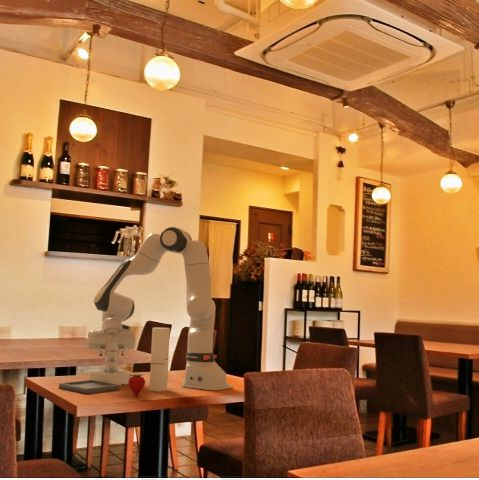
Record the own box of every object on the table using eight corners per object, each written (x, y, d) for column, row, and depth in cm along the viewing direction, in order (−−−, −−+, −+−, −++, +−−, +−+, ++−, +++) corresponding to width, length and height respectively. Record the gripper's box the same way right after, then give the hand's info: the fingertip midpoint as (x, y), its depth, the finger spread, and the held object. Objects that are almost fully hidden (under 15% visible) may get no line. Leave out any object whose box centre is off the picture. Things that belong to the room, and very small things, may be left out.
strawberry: (133, 398, 205) (134, 371, 206) (124, 395, 211) (126, 368, 212) (147, 397, 208) (148, 370, 210) (138, 394, 215) (140, 368, 216)
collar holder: (130, 383, 241) (131, 371, 241) (107, 386, 231) (108, 374, 232) (112, 380, 249) (113, 368, 249) (89, 382, 239) (90, 371, 239)
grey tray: (119, 389, 224) (119, 384, 224) (86, 394, 211) (86, 388, 211) (91, 384, 235) (92, 379, 235) (58, 388, 222) (59, 383, 223)
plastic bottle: (106, 384, 235) (109, 337, 237) (99, 382, 240) (102, 336, 243) (120, 383, 239) (123, 336, 241) (113, 381, 244) (115, 335, 247)
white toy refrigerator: (170, 389, 228) (173, 328, 230) (158, 391, 222) (161, 328, 224) (157, 387, 232) (160, 327, 234) (145, 389, 226) (148, 327, 229)
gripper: (88, 325, 246) (87, 350, 236) (134, 326, 252) (136, 350, 242) (87, 335, 250) (86, 359, 240) (133, 336, 256) (134, 359, 245)
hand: (111, 355), depth 241 cm, fingers open, 8 cm apart
